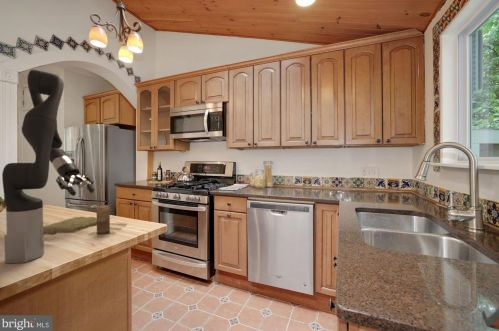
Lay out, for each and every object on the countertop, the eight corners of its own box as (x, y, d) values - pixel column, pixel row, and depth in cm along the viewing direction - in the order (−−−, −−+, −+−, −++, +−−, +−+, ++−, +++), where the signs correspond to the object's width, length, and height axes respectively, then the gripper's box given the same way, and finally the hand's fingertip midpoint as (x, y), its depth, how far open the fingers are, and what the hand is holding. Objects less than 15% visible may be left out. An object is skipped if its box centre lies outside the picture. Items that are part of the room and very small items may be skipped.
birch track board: (112, 237, 102) (112, 235, 102) (85, 238, 100) (85, 236, 100) (129, 224, 120) (129, 222, 120) (106, 225, 119) (106, 223, 119)
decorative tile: (38, 234, 106) (38, 226, 105) (75, 221, 126) (75, 215, 125) (75, 236, 104) (75, 228, 104) (107, 223, 124) (107, 216, 123)
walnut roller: (106, 234, 103) (106, 207, 102) (94, 234, 102) (94, 207, 101) (111, 230, 108) (111, 205, 107) (100, 231, 107) (100, 205, 106)
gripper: (53, 162, 103) (72, 189, 100) (84, 161, 116) (102, 185, 113) (45, 174, 104) (63, 201, 102) (76, 172, 118) (94, 195, 115)
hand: (84, 193), depth 107 cm, fingers open, 8 cm apart
